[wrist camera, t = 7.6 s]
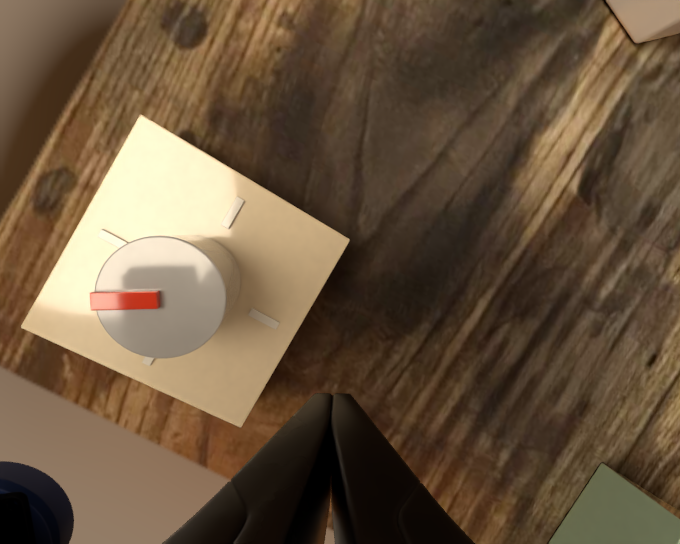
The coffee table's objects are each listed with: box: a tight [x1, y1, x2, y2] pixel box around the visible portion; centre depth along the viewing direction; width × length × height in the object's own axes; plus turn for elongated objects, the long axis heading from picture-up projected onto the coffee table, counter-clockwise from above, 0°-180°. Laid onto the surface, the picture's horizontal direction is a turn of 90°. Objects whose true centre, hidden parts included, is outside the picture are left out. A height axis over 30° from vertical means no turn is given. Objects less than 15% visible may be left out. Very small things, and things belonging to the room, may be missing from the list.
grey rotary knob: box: [90, 235, 241, 358], centre depth 13 cm, size 4×4×4 cm
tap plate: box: [21, 114, 350, 428], centre depth 17 cm, size 10×10×3 cm
